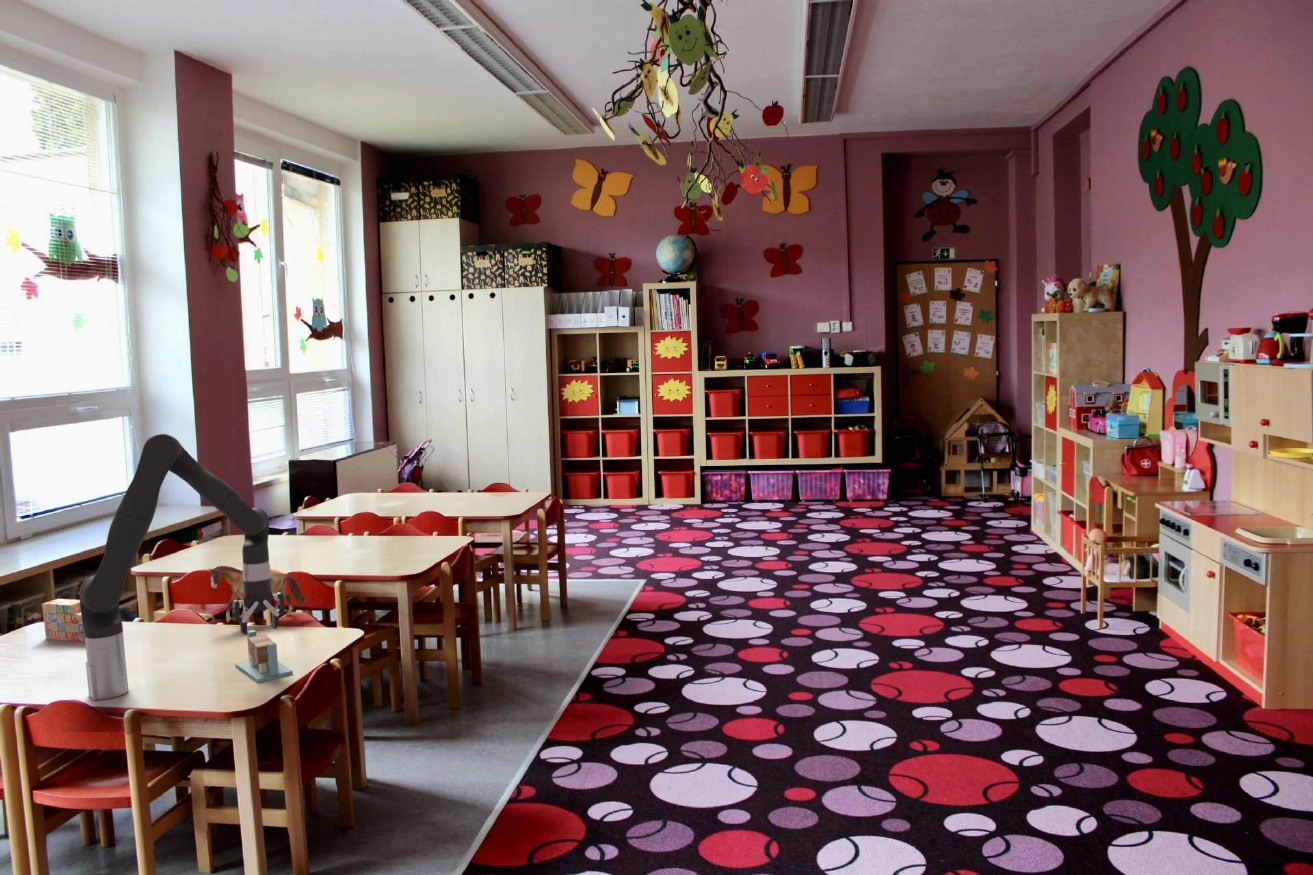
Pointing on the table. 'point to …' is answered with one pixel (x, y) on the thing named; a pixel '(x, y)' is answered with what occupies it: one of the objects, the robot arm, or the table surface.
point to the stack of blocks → (63, 620)
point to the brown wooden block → (259, 648)
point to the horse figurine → (236, 582)
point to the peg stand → (264, 665)
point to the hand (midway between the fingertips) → (260, 631)
